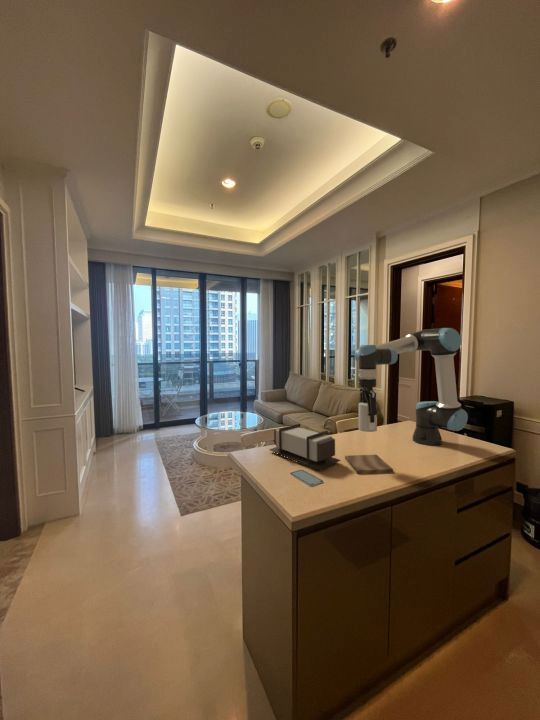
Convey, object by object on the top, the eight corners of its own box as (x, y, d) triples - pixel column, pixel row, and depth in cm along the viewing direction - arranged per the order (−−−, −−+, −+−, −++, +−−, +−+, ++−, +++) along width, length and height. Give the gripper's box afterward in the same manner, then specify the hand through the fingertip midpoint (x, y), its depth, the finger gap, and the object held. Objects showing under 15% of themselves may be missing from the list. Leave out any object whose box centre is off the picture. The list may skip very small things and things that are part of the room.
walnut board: (376, 457, 152) (376, 454, 152) (393, 472, 134) (393, 469, 134) (344, 458, 151) (344, 455, 151) (357, 473, 133) (357, 470, 133)
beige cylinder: (376, 432, 137) (376, 406, 136) (357, 431, 139) (357, 405, 139) (377, 427, 144) (377, 402, 144) (359, 426, 147) (359, 401, 146)
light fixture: (319, 440, 134) (268, 425, 161) (319, 473, 135) (269, 453, 161) (340, 433, 144) (289, 420, 170) (340, 464, 145) (289, 446, 171)
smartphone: (302, 469, 138) (324, 481, 125) (302, 471, 138) (324, 483, 125) (288, 473, 134) (310, 485, 121) (288, 474, 134) (310, 487, 121)
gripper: (352, 376, 151) (352, 421, 152) (368, 380, 130) (368, 433, 131) (367, 375, 151) (367, 421, 152) (385, 380, 130) (385, 432, 131)
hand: (367, 426), depth 142 cm, fingers closed on beige cylinder, 8 cm apart
